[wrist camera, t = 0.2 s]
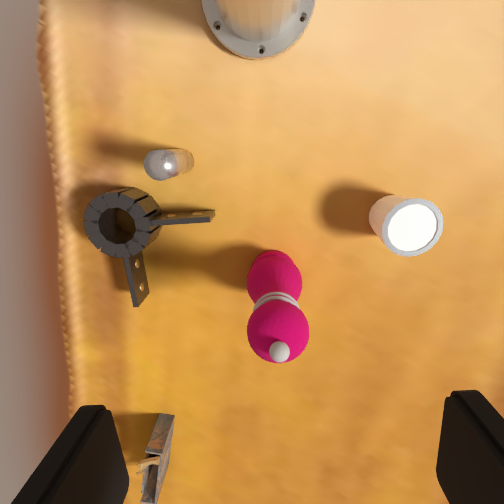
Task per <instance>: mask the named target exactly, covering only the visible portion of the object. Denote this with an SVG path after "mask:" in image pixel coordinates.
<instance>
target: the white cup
mask: <svg viewBox="0 0 504 504" xmlns="http://www.w3.org/2000/svg"><path fill="white" fill-rule="evenodd" d="M369 224H370V226H371V228H372V230H373V231H374V232H375V233H376V234H377V236H378V237H379V238H380V239H381V241H382V242H383V243H384V244H385V245H386V247H387V248H389V249H390V250H391V251H392V252H394V253H395V254H398V255H402V256H405V257H408V256H416V255H419V254H422V253H424V252H426V251H428V250H429V249H430V248H431V247H432V246H433V245H434V244H435V243H436V242H437V241H438V239H439V237H440V235H441V233H442V231H443V217H442V215H441V212H440V210H439V208H438V207H437V206H435V205H434V204H433V203H432V202H431V201H428V200H424V199H420V198H414V197H406V196H399V195H389V196H384V197H383V198H381V199H379V200H377V201H376V202H375V204H374V205H373V206H372V207H371V210H370V213H369Z"/></svg>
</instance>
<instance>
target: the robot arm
mask: <svg viewBox="0 0 504 504" xmlns="http://www.w3.org/2000/svg"><path fill="white" fill-rule="evenodd" d="M201 1H202V7H203V11H204V14H205V17H206V20H207V23H208V25H209V27H210V29H211V31H212V32H213V34H214V35H215V37H216V38H217V40H218V41H219V42H220V43H221V44H222V45H223V46H224V47H225V48H227V49H228V50H229V51H231V52H232V53H234V54H236V55H238V56H241V57H243V58H247V59H253V60H261V59H268V58H272V57H275V56H277V55H279V54H281V53H283V52H285V51H286V50H287V49H289V48H290V47H291V46H293V45H294V43H295V42H296V41H297V40H298V39H299V38H300V37H301V35H302V34H303V32H304V30H305V29H306V27H307V25H308V23H309V21H310V18H311V16H312V12H313V9H314V6H315V0H201ZM300 18H304V21H303V22H301V21H300ZM217 26H220V29H219V30H217V29H216V27H217ZM261 49H262V50H263V51H264V52H263V53H262V54H260V53H259V51H260V50H261ZM436 474H437V478H438V481H439V484H440V486H441V488H442V490H443V492H444V494H445V496H446V498H447V500H448V501H449V503H450V504H504V418H503V417H502V416H501V415H500V414H499V413H498V412H497V411H496V409H495V408H494V407H493V406H492V405H491V404H490V403H489V402H488V400H487V399H486V398H485V397H484V396H483V395H482V394H481V393H480V392H479V391H477V390H462V391H453V392H452V393H451V395H450V397H446V399H445V404H444V411H443V419H442V427H441V435H440V443H439V450H438V458H437V466H436ZM128 487H129V475H128V472H127V468H126V464H125V461H124V457H123V453H122V450H121V446H120V442H119V439H118V435H117V431H116V428H115V424H114V420H113V417H112V413H111V411H110V410H106V407H105V406H104V405H85V406H82V407H80V408H79V409H78V410H77V412H76V413H75V415H74V416H73V417H72V419H71V420H70V422H69V423H68V425H67V426H66V427H65V429H64V430H63V432H62V433H61V434H60V436H59V437H58V439H57V440H56V441H55V443H54V444H53V446H52V447H51V448H50V450H49V451H48V453H47V454H46V455H45V457H44V458H43V460H42V461H41V463H40V464H39V465H38V467H37V468H36V469H35V471H34V472H33V474H32V475H31V476H30V478H29V479H28V481H27V482H26V483H25V485H24V486H23V488H22V489H21V490H20V492H19V493H18V495H17V496H16V498H15V499H14V500H13V502H12V503H11V504H123V502H124V499H125V497H126V494H127V491H128Z"/></svg>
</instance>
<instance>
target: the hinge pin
mask: <svg viewBox="0 0 504 504" xmlns="http://www.w3.org/2000/svg"><path fill="white" fill-rule="evenodd" d="M193 166H194V158H193V156H192V154H191V153H190V152H189V151H187V150H185V149H166V150H153V151H151V152H149V153H148V154H147V155H146V157H145V159H144V168H145V171H146V173H147V174H148V175H149V176H150V177H151V178H152V179H155V180H158V181H162V180H166V179H169V178H172V177H175V176H178V175H181V174H184V173H186V172H189V171H190V170H191V169H192V168H193Z"/></svg>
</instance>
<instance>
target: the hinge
mask: <svg viewBox="0 0 504 504" xmlns="http://www.w3.org/2000/svg"><path fill="white" fill-rule="evenodd" d="M148 195H149V194H148V193H146V192H144V191H142V190H140V189H138V188H135V189H134V187H131V188H120V189H116V190H113V191H109V192H106V193H103V194H100V195H99V196H97V197H96V198H95V199H93V200H92V201H91V202H89V203H90V204H89V205H87V208H86V211H85V214H84V219H86V220H85V221H83V222H84V226H85V231H86V235H91V236H90V237H89V238H88V239H89V240H90V241H91V242H92V243H93V244H94V246H95V247H96V248H97V249H99V248H101V247H102V248H101V252H103V253H105V254H107V255H110V256H112V257H115V256H116V257H117V258H123V259H124V264H125V269H126V274H127V278H128V283H129V288H130V293H131V298H132V302H133V307H139V306H140V304H141V303H142V302H143V301H144V299H145V298H146V297H147V295H148V294H149V288H148V282H147V277H146V272H145V267H144V261H143V256H142V251H141V250H143V249H144V248H145V247H146V246H148V245H149V244H150V243H151V242H152V241H154V240H155V239H156V237H157V236H158V235H159V232H160V230H161V227H162V225H172V224H188V223H204V222H211V220H212V219H213V217H214V216H215V210H205V211H189V212H174V213H161V209H158V210H156V209H157V208H159V205H158V204H157V203H156V201H155V200H154V199H153V197H152V196H149V197H148ZM118 208H120V209H122V210H125V211H127V212H128V213H129V214H130V215H131V217H132V218H133V219H134V221H135V227H136V232H135V234H131V233H128V232H126V231H124V230H123V229H122V228H121V227H120V225H119V224H118V223H117V218H116V212H117V209H118Z"/></svg>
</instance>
